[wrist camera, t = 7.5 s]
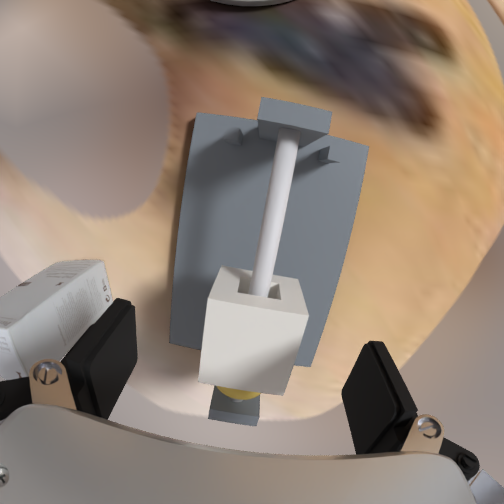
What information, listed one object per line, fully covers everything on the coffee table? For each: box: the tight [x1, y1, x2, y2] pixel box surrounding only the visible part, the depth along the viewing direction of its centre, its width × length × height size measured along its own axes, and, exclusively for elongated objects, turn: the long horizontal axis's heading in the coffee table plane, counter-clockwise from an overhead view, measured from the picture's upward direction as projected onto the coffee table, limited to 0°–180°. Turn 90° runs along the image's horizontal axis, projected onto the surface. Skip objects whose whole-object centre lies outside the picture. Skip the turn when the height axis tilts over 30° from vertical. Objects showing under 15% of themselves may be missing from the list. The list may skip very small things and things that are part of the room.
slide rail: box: [169, 97, 369, 426], centre depth 17 cm, size 18×12×8 cm, turn 170°
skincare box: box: [0, 260, 113, 380], centre depth 17 cm, size 6×4×12 cm
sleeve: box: [198, 266, 309, 396], centre depth 15 cm, size 5×4×4 cm
